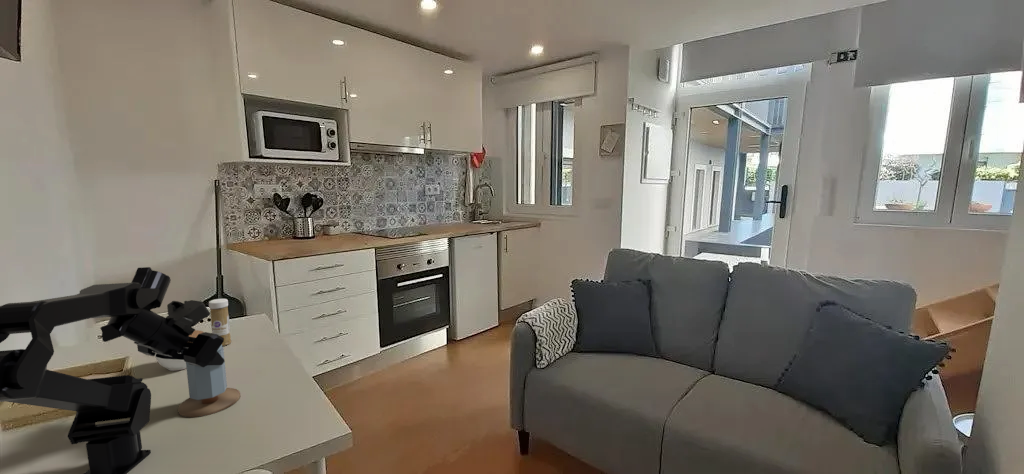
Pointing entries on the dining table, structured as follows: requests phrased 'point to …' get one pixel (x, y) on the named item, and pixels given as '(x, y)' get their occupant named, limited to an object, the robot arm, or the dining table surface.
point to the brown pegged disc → (209, 404)
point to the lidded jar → (175, 363)
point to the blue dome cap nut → (206, 379)
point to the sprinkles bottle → (220, 319)
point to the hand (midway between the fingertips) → (212, 360)
